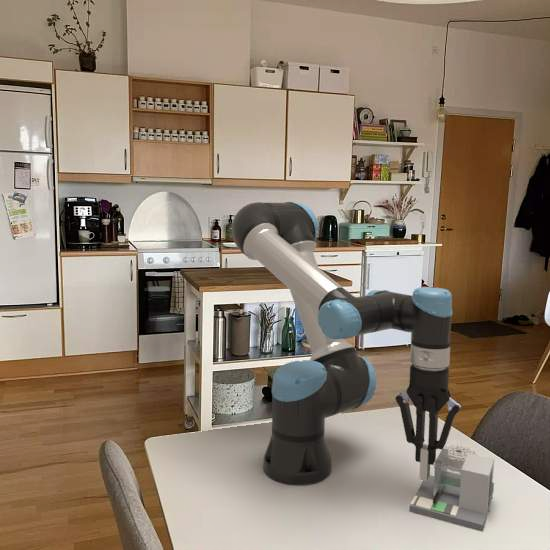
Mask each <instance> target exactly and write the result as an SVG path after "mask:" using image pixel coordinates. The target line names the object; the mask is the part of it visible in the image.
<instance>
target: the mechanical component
mask: <svg viewBox="0 0 550 550" xmlns="http://www.w3.org/2000/svg"><path fill="white" fill-rule="evenodd" d="M443 449H448V465H447V472H450V473H454V474H458V475H461V469H462V466H463V464H464V462H465V459H466V457H467V454H468V453H472V454H476V455H477V453H476V451H475V450H472V449H471V448H470V447H466V446H463V445H459V444H451V445H445V446H444V448H443ZM437 458H438V456H437V457H436V460H437ZM436 460H435V461H436Z"/></svg>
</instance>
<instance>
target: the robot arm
mask: <svg viewBox="0 0 550 550" xmlns="http://www.w3.org/2000/svg"><path fill="white" fill-rule="evenodd" d="M318 230H319V221H318V219H317V216H316V214H315V213H314V211H313V210H312V209H311V208H310V207H309V206H308V205H306V204H303V203H301V202H294V201H287V202H286V201H284V202H261V201H260V202H259V201H256V202H251V203H248V204H246V205H244V206H243V207H241V209H239V210H238V211H237V212H236V214H235V215H234V217H233V219H232V223H231V237H232V240H233V242H234V244H235V246H236V247H237V249H238V250H239V251H240V252H241V253H242V254H243V255H245V257H247V258H248V259H250V260H251V261H258V262H259V263H260V264H261V265H262V266H263V267H265V269H267V270H268V271H269V272H270V273H271V274H273V276H275V278H277V279H278V281H280V282H281V283H282V284H283V285H284V286H286V287H287V288H288V289H289V291H290V294H291V296H292V301H293V303H294V306H295V308H296V312H297V314H298V317H299V320H300V322H301V325H302V329H303V331H304V334H305V337H306V340H307V342H308V345H309V348H310V351H311V357H310V359H308V360H307V359H305V360H296V361H295V360H294V361H290V362H288V363H285V364H283V365H281V366H279V367H278V368H277V369H276V370H275V371H274V373H273V377H272V386H271V394H272V395H271V397H272V399H271V400H272V401H271V403H272V405H271V408H272V409H271V410H272V413H271V414H272V415H271V436H270V438H269V442H268V444H267V446H266V447H267V448H266V450H265V453H264V456H263V472H264V473H265V474H266V475H267V476H268V477H269V478H271V479H272V480H275V481H277V482H279V483H283V484H288V485H296V486H299V485H300V486H301V485H303V486H304V485H312V484H315V483H319V482H322V481H324V480H325V479H326V478H328V477H329V476H330V474H331V473H332V457H331V453H330V450H329V448H328V447H329V446H328V444H327V440H326V438H325V424H326V422H325V421H326V420H325V419H326V418H330V417H333V416H335V415H339V414H341V413H344V412H349V411H352V410H355V409H359V408H360V407H361V406H363V405H366V404H367V403H369V401H371V400H372V398H373V397H374V395H375V391H376V388H377V375H376V370H375V368H374V366H373V365H372V362H371V361H370V360H368V359H366V357H364V356H361V355H359V354H358V352H357V349H356V347H355V345H353V344H351V343H349V342H348V341H346V339H352V338H354V337H358V336H362V335H366V334H369V333H376V332H381V331H386V330H391V329H392V330H397V331H401V332H402V331H403V332H407V333H411V335H410V357H409V359H410V363H411V365H410V366H409V383H408V384H409V385H408V387H407V388H406V391H404V392H399V393H398V394H397V395H396V396H395V401H396V403H397V404H398V406H399V409H400V413H401V419H402V424H403V428H404V429H403V430H404V433H405V438H406V439H405V440H406V442H407V443H408V444H412V445H414V446H415V454H414V458H415V461H416V462H417V463H419V479H418V480H420V481H423V480H424V481H427V480H428V478H429V476H430V475H431V466H434V465H435V460H436V458H437V457H436V456H437V450H438V449H439V450H442V449H443V448H444V447H445V446H446V444H447V441H448V438H449V435H450V432H451V430H452V425H453V423H454V420H455V416H456V415H457V414H458V412H459V411H460V410H461V408H462V403H461V402H459V401H455V400H454V399H453V398H452V396H451V392H450V390H449V383H450V382H449V378H450V369H449V366H450V361H451V359H450V358H451V333H452V332H451V331H452V330H451V329H452V319H453V295H452V292H451V291H450V290H448V289H446V288H441V287H430V286H424V287H423V286H422V287H421V286H420V287H417V288H415V289H414V290H413V291H412V294H411V295H410V294H404V293H400V292H399V293H398V292H394V291H389V290H387V289H384V290H378V289H377V290H376V289H375V290H370V291H369V292H368V293H367V294H366V295H364V296H363V295H361V296H355V295H353V294H352V293H351V292H349V291H348V290H347V289H345V288H344V287H343V286H341V285H340V284H339V283H338V282H336V281H335V280H334V279H333V278H332V277H330V276H329V275H328V274H327V273H326V272H324V271H323V270H322V269H321V268H319V265H318V262H317V260H316V258H315V255H314V251H315V250H316V247H317V242H316V241H317V239H318V236H319V231H318ZM410 401H411V402H412V405H413V406H414V407H415V409H416V410H415V416H416V418H415V419H416V420H415V421H416V422H415V427H414V421H413V417H412V412H411V407H410V404H409V402H410ZM446 404H447V407H446V409H447V411H448V413H447V415H446V419H445V421H444V424H443V428H442V430H441V433H440V437H439V440H438V425H439V423H438V422H439V413H440V411H441V410H442V408H443V407H444V406H446ZM426 412H428V419H429V420H428V441H427V442H428V443H427V444H425V441H426V440H425V427H426V424H425V423H426Z"/></svg>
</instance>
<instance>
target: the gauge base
mask: <svg viewBox="0 0 550 550" xmlns="http://www.w3.org/2000/svg"><path fill="white" fill-rule="evenodd" d="M494 466H495V458H494V457H491V456H489V457H488V456H484V455H480V454H477V453H476V454H472V453H468V454H467V457H466V459H465V462H464V464H463V466H462V469H461V481H460V488H458V487H454V486H450V485H446V484H445V486H444V488H443V490H442V493H441V495H440V497H439V498H438V501H437V503H436V504H434V503H433V499H434V496H433V491H434V475H431V474H430V476H429V478H428V480H427V481H424V480H422V482H421V484H420V485H419V487H418V489H417V491H416V493H415V495H414V496H413V498H412V500H411V502H410V504H409V512H412V513H415V514H418V515H421V516H426V517H428V518H433V519H435V520H436V519H437V520H439V521H443V522H447V523H451V524H456V525H458V526H461V527H465V528H470V529H473V530H477V531H481V532H483V531H484V528H485V524H486V520H487V517H488V513H489V509H490V506H491V502H492V499H493V495H494V494H493V495H492V496H491V495H489V483H490V482H493V481H494ZM493 483H494V482H493Z"/></svg>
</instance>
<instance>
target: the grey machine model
mask: <svg viewBox="0 0 550 550" xmlns="http://www.w3.org/2000/svg"><path fill="white" fill-rule="evenodd" d="M437 457H438V458H437ZM437 457H436V458H437V460H436V461H435V462H434V475H433V476H434V491H433V496H434V499H433V503H434V504H436V503H437V501H438V498H439V497H440V495H441V493H442V490H443V488H444V486H445V484H446V485H450V486H454V487H458V488H460V481H461V475H458V474H454V473H450V472H447V465H448V449H440V452H439V453H438V456H437ZM494 490H495V482H490V483H489V495H491V496H492V495H494ZM492 497H493V496H492Z"/></svg>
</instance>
